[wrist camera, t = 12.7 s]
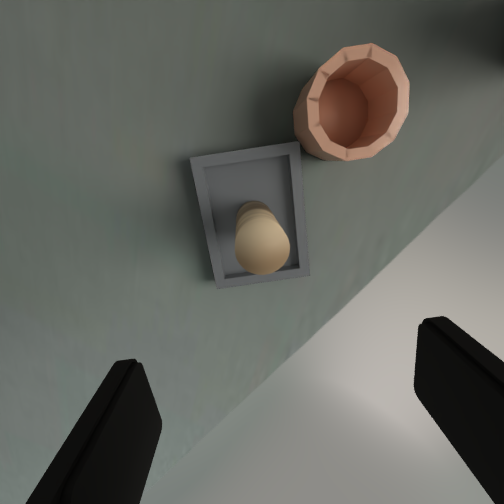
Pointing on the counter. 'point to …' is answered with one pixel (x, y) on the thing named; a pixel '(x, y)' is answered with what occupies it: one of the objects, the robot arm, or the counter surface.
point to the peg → (260, 239)
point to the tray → (251, 189)
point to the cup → (352, 104)
